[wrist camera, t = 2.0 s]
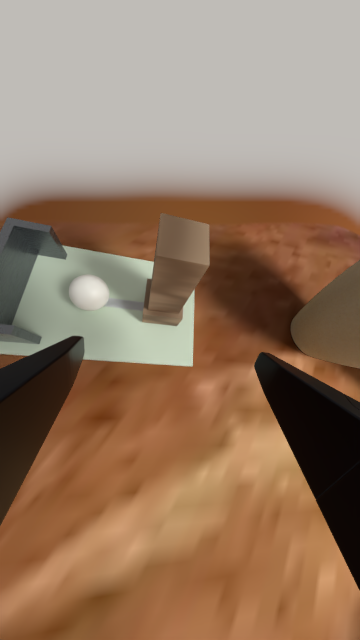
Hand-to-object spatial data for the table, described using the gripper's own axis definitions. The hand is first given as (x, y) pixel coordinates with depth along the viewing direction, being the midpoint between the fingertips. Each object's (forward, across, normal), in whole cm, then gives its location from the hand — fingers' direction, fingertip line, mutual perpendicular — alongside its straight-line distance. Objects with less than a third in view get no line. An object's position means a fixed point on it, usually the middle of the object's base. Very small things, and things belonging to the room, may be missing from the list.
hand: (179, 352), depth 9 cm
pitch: (+15, +6, +4) cm, 16 cm away
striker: (+14, 0, +4) cm, 15 cm away
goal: (+14, +14, +4) cm, 20 cm away
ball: (+13, +8, +2) cm, 15 cm away
